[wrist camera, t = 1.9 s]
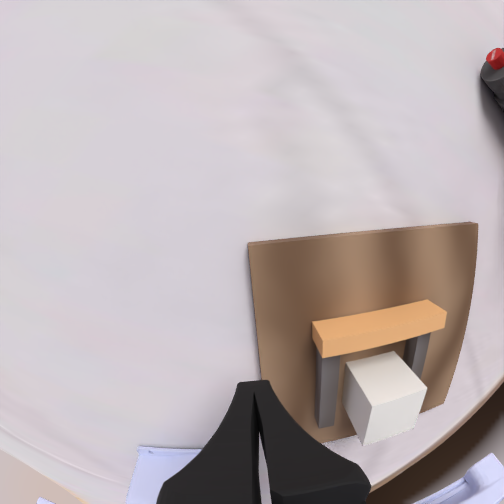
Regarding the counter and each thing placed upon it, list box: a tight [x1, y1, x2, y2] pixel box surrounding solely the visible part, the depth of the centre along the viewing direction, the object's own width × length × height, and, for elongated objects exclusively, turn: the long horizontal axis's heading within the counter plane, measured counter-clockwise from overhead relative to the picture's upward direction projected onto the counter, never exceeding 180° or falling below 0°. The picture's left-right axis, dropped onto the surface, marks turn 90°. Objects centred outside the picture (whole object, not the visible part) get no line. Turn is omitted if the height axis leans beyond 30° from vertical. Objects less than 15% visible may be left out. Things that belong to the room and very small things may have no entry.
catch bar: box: [312, 299, 447, 358], centre depth 16 cm, size 9×1×2 cm, turn 96°
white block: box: [342, 351, 427, 446], centre depth 16 cm, size 4×4×5 cm
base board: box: [248, 222, 478, 443], centre depth 18 cm, size 18×18×2 cm
